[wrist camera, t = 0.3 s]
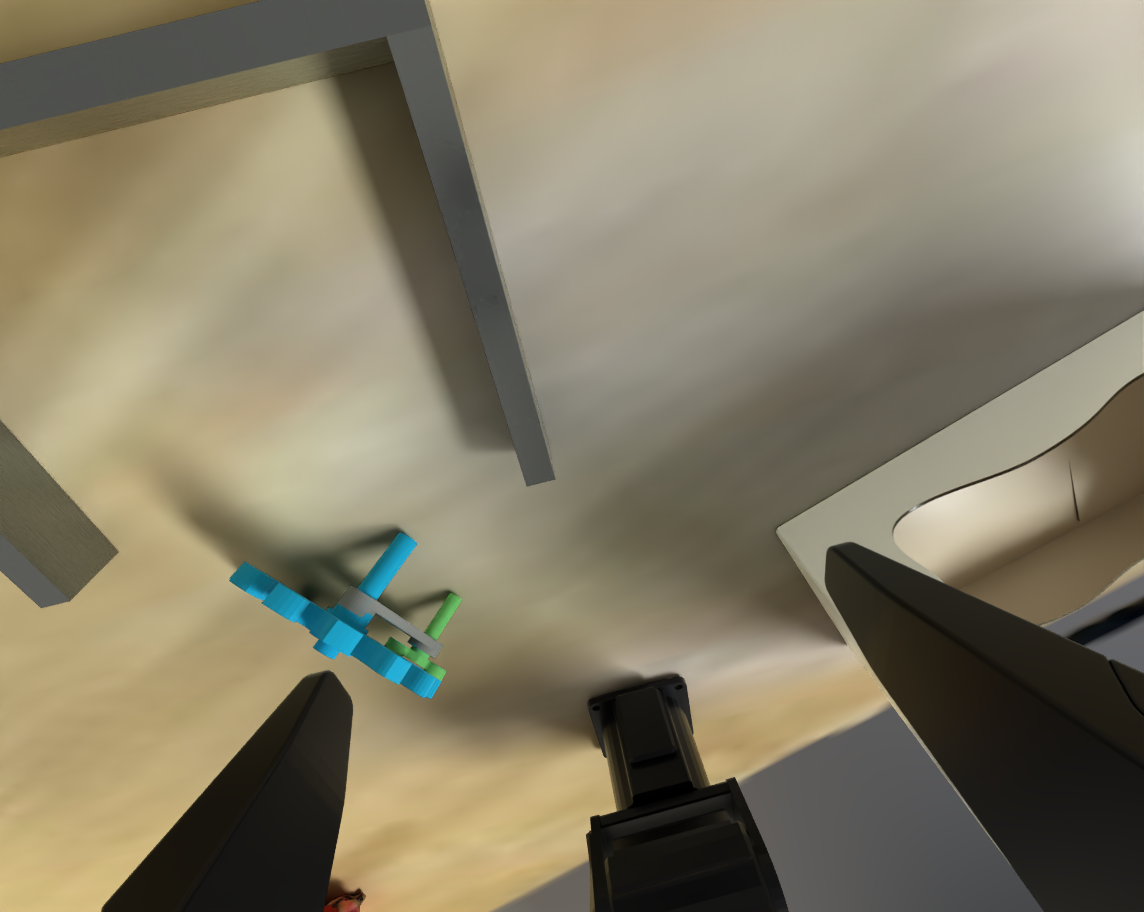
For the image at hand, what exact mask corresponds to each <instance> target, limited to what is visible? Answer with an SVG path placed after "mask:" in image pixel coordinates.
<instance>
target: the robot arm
mask: <svg viewBox="0 0 1144 912" xmlns="http://www.w3.org/2000/svg"><path fill="white" fill-rule="evenodd" d="M824 580H825V586H826V589H827V591H828V593H829V595H830V597H831V599H832V601H833V602H834V604H835V606H836V608H837V609H838V611H839V613H840V615H841V616H842V618H843V620H844V622H845V623H846V625H847V627H848V629H849V631H850V632H851V634H852V636H853V638H854V639H855V641H856V643H857V645H858V646H859V648H860V650H861V652H862V653H863V655H864V657H865V659H866V660H867V662H868V664H869V665H870V667H871V669H872V670H873V672H874V673H875V675H876V676H877V678H878V679H879V681H880V682H881V684H882V685H883V686H884V688H885V689H886V691H887V692H888V693H889V695H890V696H891V698H892V699H893V700H894V702H895V703H896V705H897V706H898V707H899V709H900V710H901V712H902V713H903V715H904V716H905V717H906V719H907V720H908V722H909V723H910V724H911V726H912V727H913V729H914V730H915V731H916V733H917V734H918V736H919V737H920V738H921V740H922V741H923V743H924V744H925V745H926V747H927V748H928V750H929V751H930V752H931V754H932V755H933V757H934V758H935V759H936V761H937V762H938V764H939V765H940V766H941V768H942V769H943V771H944V772H945V774H946V775H947V776H948V778H949V779H950V781H951V782H952V783H953V785H954V786H955V788H956V789H957V790H958V792H959V793H960V795H961V796H962V797H963V799H964V800H965V802H966V803H967V804H968V806H969V807H970V809H971V810H972V811H973V813H974V814H975V816H976V817H977V818H978V820H979V821H980V823H981V824H982V825H983V827H984V828H985V830H986V831H987V833H988V834H989V835H990V837H991V838H992V840H993V841H994V842H995V844H996V845H997V847H998V848H999V849H1000V851H1001V852H1002V854H1003V855H1004V856H1005V858H1006V859H1007V861H1008V862H1009V863H1010V865H1011V866H1012V868H1013V869H1014V870H1015V872H1016V873H1017V875H1018V876H1019V877H1020V879H1021V880H1022V882H1023V883H1024V884H1025V886H1026V887H1027V889H1028V890H1029V891H1030V893H1031V894H1032V896H1033V897H1034V898H1035V900H1036V901H1037V903H1038V904H1039V906H1040V907H1041V908H1042V910H1043V911H1044V912H1144V673H1142V672H1140V671H1138V670H1136V669H1134V668H1131V667H1129V666H1127V665H1125V664H1122V663H1120V662H1118V661H1116V660H1113V659H1109V660H1107V658H1106V657H1105V656H1104V655H1102V654H1100V653H1098V652H1096V651H1093V650H1091V649H1089V648H1087V647H1085V646H1082V645H1080V644H1078V643H1076V642H1073V641H1071V640H1069V639H1067V638H1065V637H1062V636H1060V635H1058V634H1056V633H1054V632H1051V631H1049V630H1047V629H1045V628H1043V627H1040V626H1038V625H1036V624H1034V623H1031V622H1029V621H1027V620H1025V619H1023V618H1020V617H1018V616H1016V615H1014V614H1012V613H1009V612H1007V611H1005V610H1003V609H1001V608H998V607H996V606H994V605H992V604H990V603H987V602H985V601H983V600H981V599H978V598H976V597H974V596H972V595H970V594H967V593H965V592H963V591H961V590H959V589H956V588H954V587H952V586H950V585H948V584H945V583H943V582H941V581H939V580H936V579H934V578H932V577H930V576H928V575H925V574H923V573H921V572H919V571H917V570H914V569H912V568H910V567H908V566H906V565H903V564H901V563H899V562H897V561H894V560H892V559H890V558H888V557H886V556H883V555H881V554H879V553H877V552H875V551H872V550H870V549H868V548H866V547H864V546H861V545H859V544H857V543H854V542H845V543H841V544H837V545H833V546H830V547H829V548H828V549H827V551H826V562H825V577H824ZM588 709H589V713H590V716H591V719H592V722H593V725H594V728H595V731H596V734H597V737H598V740H599V743H600V746H601V750H602V753H603V756H604V757H605V758H607V761H608V766H609V771H610V777H611V782H612V787H613V793H614V798H615V803H616V809H617V812H614V813H610V814H606V815H603V816H600V815H596V816H592V817H590V821H591V831H590V832H589V833H587V834H586V839H587V846H588V854H589V862H590V912H789V911H788V907H787V904H786V901H785V898H784V895H783V891H782V888H781V885H780V882H779V880H778V877H777V874H776V871H775V869H774V866H773V863H772V861H771V858H770V856H769V853H768V851H767V848H766V846H765V844H764V842H763V839H762V837H761V835H760V833H759V830H758V828H757V826H756V824H755V822H754V819H753V817H752V814H751V812H750V810H749V808H748V806H747V803H746V801H745V799H744V797H743V794H742V792H741V790H740V788H739V785H738V783H737V781H736V779H735V777H733V778H729V779H726V782H722V783H718V784H715V785H711V786H710V783H709V781H708V778H707V775H706V772H705V769H704V766H703V763H702V760H701V758H700V755H699V752H698V749H697V746H696V743H695V740H694V737H693V726H692V719H691V713H690V706H689V699H688V692H687V686H686V683H685V680H684V678H682V677H675V678H671V679H667V680H663V681H659V682H655V683H651V684H647V685H643V686H639V687H635V688H631V689H628V690H624V691H620V692H616V693H612V694H608V695H604V696H600V697H596V698H593V699H591V700H589V701H588ZM352 717H353V704H352V700H351V697H350V696H349V694H348V693H347V691H346V690H345V688H344V687H343V685H342V684H341V682H340V681H339V680H338V678H337V677H336V675H335V674H334V673H333V672H331V671H329V670H326V671H322V672H318V673H314V674H310V675H307V676H306V677H304V678H303V679H302V680H301V681H300V682H299V683H298V685H297V686H296V687H295V688H294V689H293V690H292V691H291V693H290V694H289V695H288V696H287V697H286V698H285V699H284V701H283V702H282V703H281V704H280V705H279V706H278V707H277V709H276V710H275V711H274V712H273V713H272V714H271V715H270V716H269V718H268V719H267V720H266V721H265V722H264V723H263V724H262V726H261V727H260V728H259V729H258V730H257V731H256V732H255V734H254V735H253V736H252V737H251V738H250V739H249V740H248V742H247V743H246V744H245V745H244V746H243V747H242V748H241V750H240V751H239V752H238V753H237V754H236V755H235V756H234V757H233V759H232V760H231V761H230V762H229V763H228V764H227V765H226V767H225V768H224V769H223V770H222V771H221V772H220V773H219V775H218V776H217V777H216V778H215V779H214V780H213V781H212V783H211V784H210V785H209V786H208V787H207V788H206V789H205V791H204V792H203V793H202V794H201V795H200V796H199V797H198V799H197V800H196V801H195V802H194V803H193V804H192V805H191V806H190V808H189V809H188V810H187V811H186V812H185V813H184V814H183V816H182V817H181V818H180V819H179V820H178V821H177V822H176V824H175V825H174V826H173V827H172V828H171V829H170V830H169V832H168V833H167V834H166V835H165V836H164V837H163V838H162V840H161V841H160V842H159V843H158V844H157V845H156V846H155V847H154V849H153V850H152V851H151V852H150V853H149V854H148V855H147V857H146V858H145V859H144V860H143V861H142V862H141V863H140V865H139V866H138V867H137V868H136V869H135V870H134V871H133V873H132V874H131V875H130V876H129V877H128V878H127V879H126V880H125V882H124V883H123V884H122V885H121V886H120V887H119V888H118V890H117V891H116V892H115V893H114V894H113V895H112V896H111V898H110V899H109V900H108V901H107V902H106V903H105V904H104V906H103V907H102V910H101V912H323V911H324V906H325V901H326V896H327V891H328V886H329V880H330V875H331V870H332V865H333V860H334V854H335V849H336V844H337V839H338V834H339V829H340V823H341V818H342V812H343V806H344V800H345V791H346V782H347V771H348V760H349V749H350V738H351V728H352Z"/></svg>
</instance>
